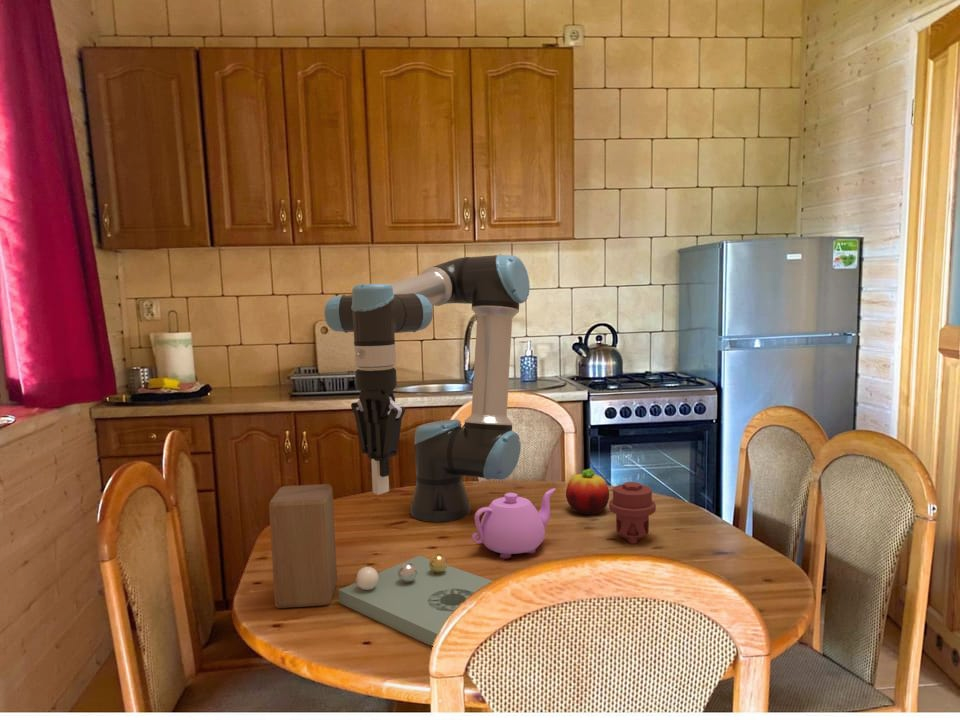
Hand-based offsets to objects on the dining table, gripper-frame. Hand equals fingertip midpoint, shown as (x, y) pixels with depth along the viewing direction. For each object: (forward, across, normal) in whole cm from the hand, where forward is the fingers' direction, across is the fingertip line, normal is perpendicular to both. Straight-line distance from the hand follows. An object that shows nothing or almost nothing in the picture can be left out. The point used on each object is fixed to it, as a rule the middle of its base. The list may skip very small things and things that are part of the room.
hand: (380, 492), depth 127 cm
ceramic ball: (+14, +3, -6) cm, 16 cm away
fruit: (+19, +7, +60) cm, 63 cm away
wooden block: (+19, -8, -12) cm, 23 cm away
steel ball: (+14, +6, 0) cm, 16 cm away
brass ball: (+14, +8, +7) cm, 18 cm away
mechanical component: (+19, +25, +50) cm, 59 cm away
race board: (+18, +12, 0) cm, 22 cm away
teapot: (+19, +8, +30) cm, 36 cm away
